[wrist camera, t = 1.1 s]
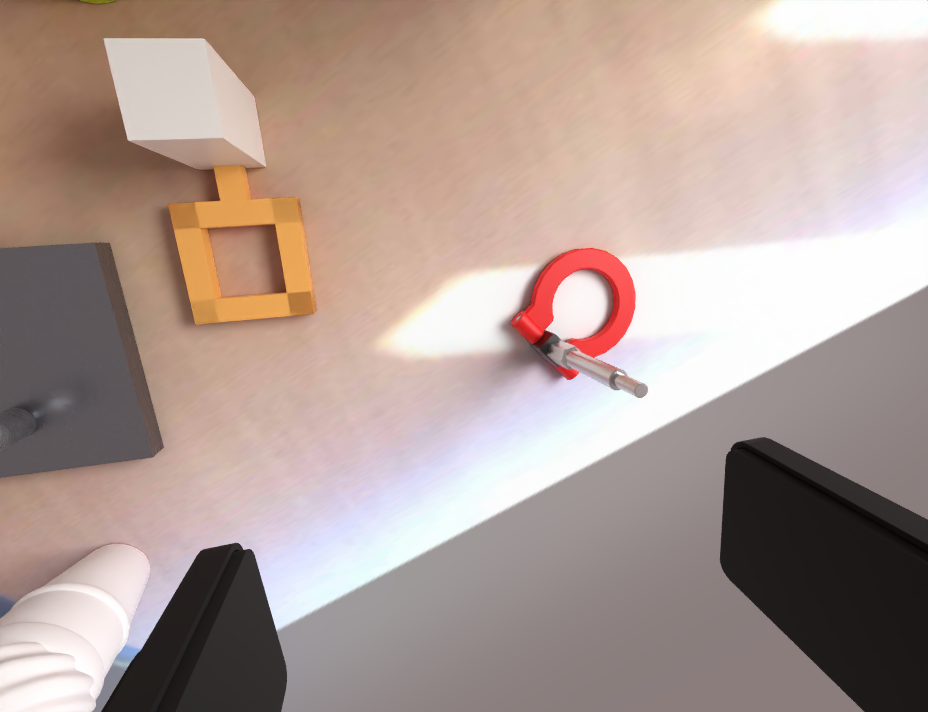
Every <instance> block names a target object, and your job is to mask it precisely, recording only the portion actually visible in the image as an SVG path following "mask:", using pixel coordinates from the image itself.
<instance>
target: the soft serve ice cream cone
mask: <svg viewBox="0 0 928 712" xmlns="http://www.w3.org/2000/svg"><path fill="white" fill-rule="evenodd" d="M149 575H150V563H149V561H148V559H147V557H146V556H145V554H143V553H142V552H141V551H140V550H138V549H137V548H135V547H132V546H130V545H126V544H109V545H105V546H102V547H100V548H98V549H96V550H94V551H93V552H91V553H90V554H89V555H87V556H86V557H84V558H83V559H81V560H80V561H78V562H77V563H76V564H74V565H73V566H71V567H70V568H68V569H67V570H65V571H64V572H63V573H61V574H60V575H58V576H57V577H55V578H54V579H52V580H51V581H50V582H48V583H47V584H45V585H44V586H42V587H40V588H38V589H35V590H33V591H31V592H30V593H28V594H27V595H25V596H23V597H22V598H21V599H20V600H19V601H18V602H17V603H16V604H15V605H14V606H13V607H12V608H11V610H10V611H9V612H8V613H7V614H5V615H4V616H3V617H2V618H0V712H91V711H93V710H94V708H95V707H96V703H95V700H96V698H97V697H98V696H99V694H100V692H101V689H102V686H103V683H104V678H105V676H106V674H107V672H108V671H109V669H110V667H111V665H112V663H113V661H114V659H115V657H116V655H118V654H119V652H120V651H121V650H122V648H123V647H124V645H125V644H126V641H127V639H128V636H129V630H130V624H131V621H132V619H133V616H134V614H135V611H136V608H137V606H138V603H139V601H140V598H141V596H142V593H143V591H144V588H145V585H146V583H147V580H148V578H149Z"/></svg>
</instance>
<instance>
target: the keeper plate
mask: <svg viewBox="0 0 928 712" xmlns="http://www.w3.org/2000/svg"><path fill="white" fill-rule="evenodd" d="M163 448H164V447H163V443H162V439H161V435H160V432H159V428H158V424H157V420H156V417H155V413H154V409H153V405H152V401H151V398H150V394H149V390H148V386H147V383H146V379H145V375H144V371H143V367H142V364H141V360H140V356H139V352H138V349H137V345H136V341H135V337H134V333H133V330H132V326H131V322H130V318H129V315H128V311H127V307H126V303H125V299H124V296H123V292H122V288H121V284H120V281H119V277H118V273H117V269H116V265H115V262H114V258H113V254H112V250H111V247H110V243H83V244H67V245H51V246H35V247H19V248H3V249H0V478H1V477H8V476H16V475H23V474H31V473H38V472H46V471H53V470H61V469H68V468H76V467H83V466H91V465H98V464H106V463H113V462H121V461H128V460H136V459H143V458H151V457H154V456H155V455H156V454H157V453H158V452H159V451H160V450H161V449H163Z"/></svg>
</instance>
